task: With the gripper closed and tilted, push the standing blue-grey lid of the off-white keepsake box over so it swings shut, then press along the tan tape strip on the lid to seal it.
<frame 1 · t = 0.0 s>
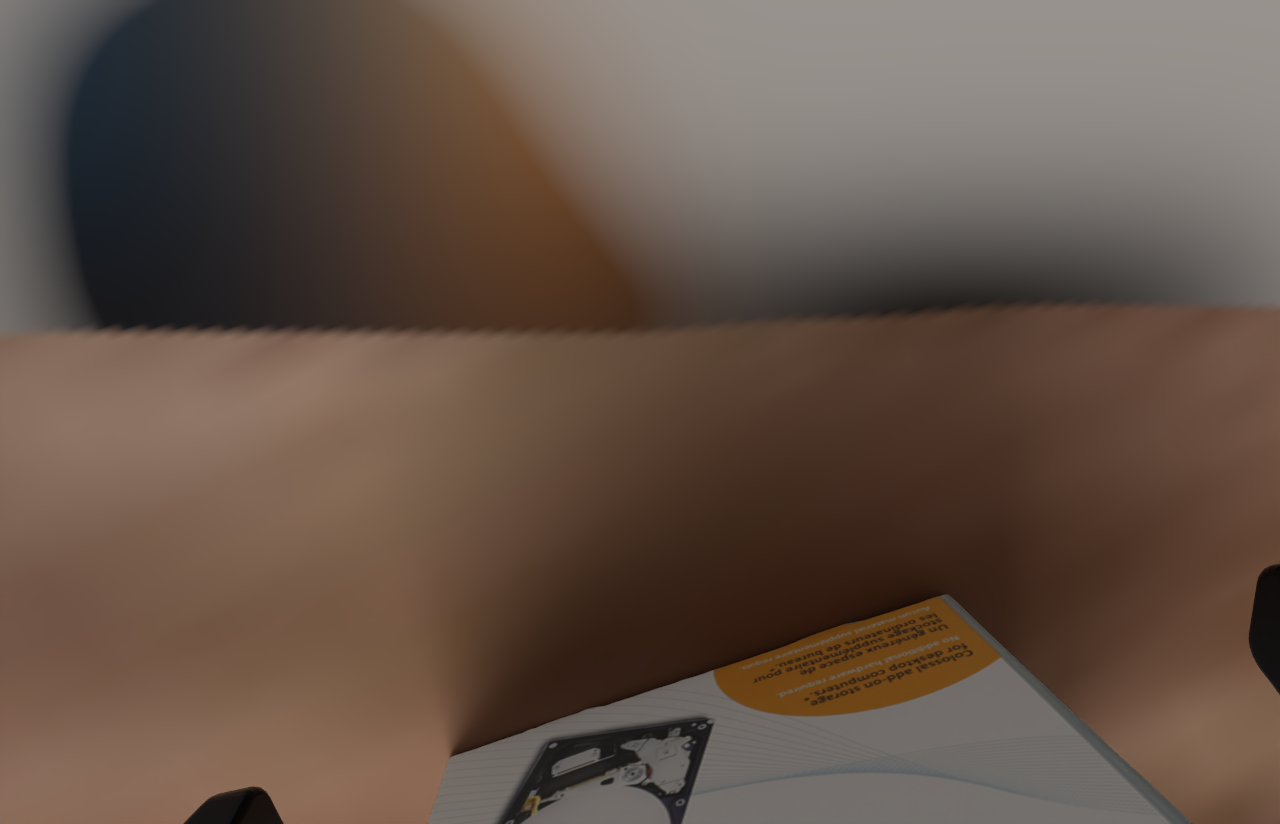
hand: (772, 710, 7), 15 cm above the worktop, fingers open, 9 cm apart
hard drive box: (729, 775, 25), on the worktop
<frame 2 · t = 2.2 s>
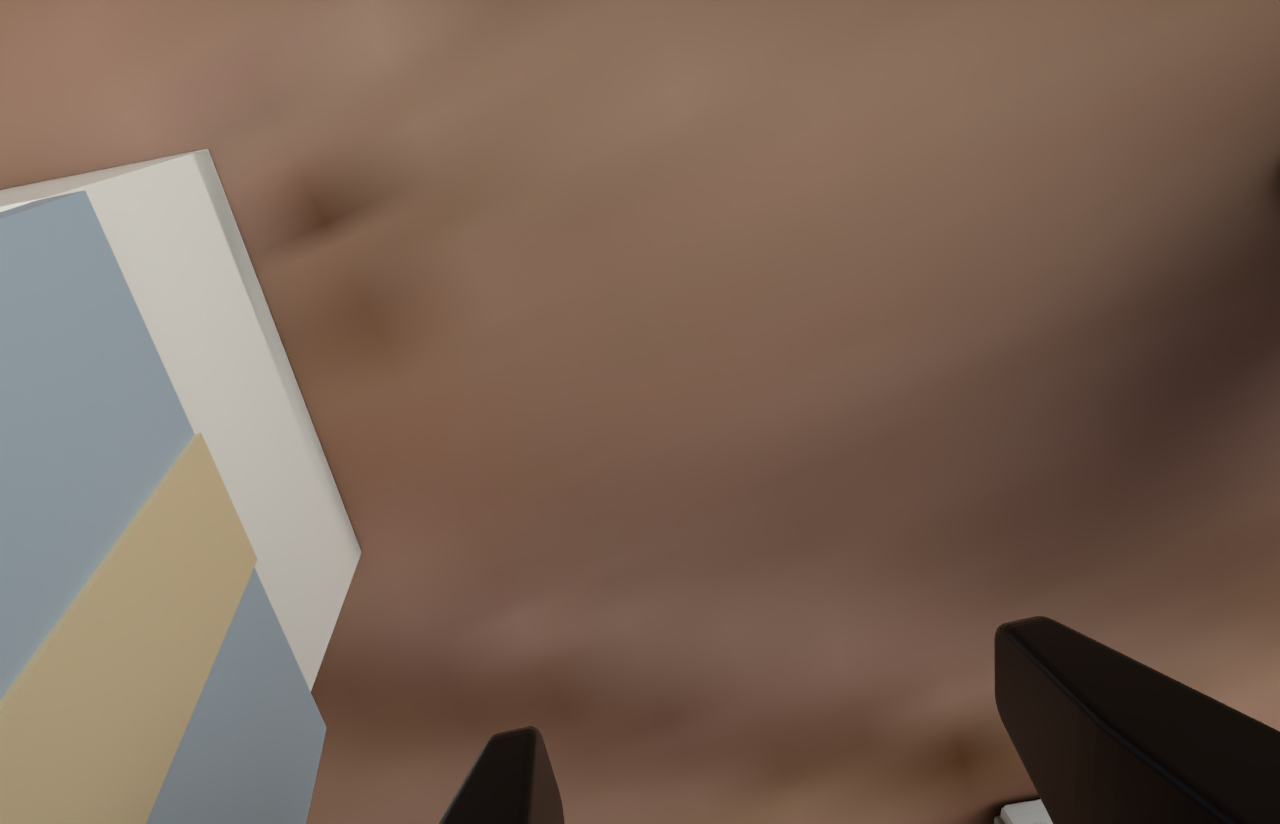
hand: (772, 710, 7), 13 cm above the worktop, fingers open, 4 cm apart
keepsake box: (119, 407, 19), on the worktop
lid: (113, 665, 10), point 10 cm above the worktop, hinge at 95.0°
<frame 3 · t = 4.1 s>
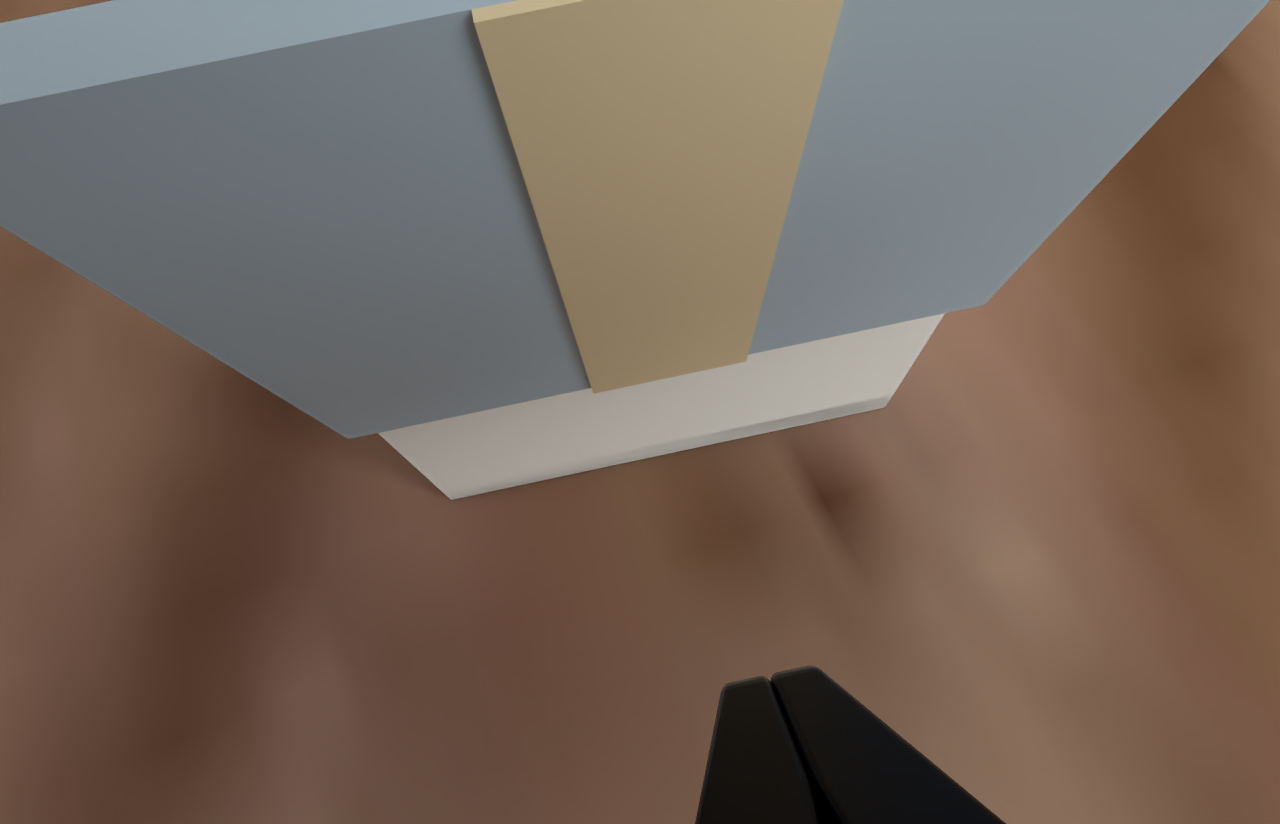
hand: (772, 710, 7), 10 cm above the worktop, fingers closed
keepsake box: (633, 298, 20), on the worktop
lid: (662, 236, 9), point 10 cm above the worktop, hinge at 95.0°
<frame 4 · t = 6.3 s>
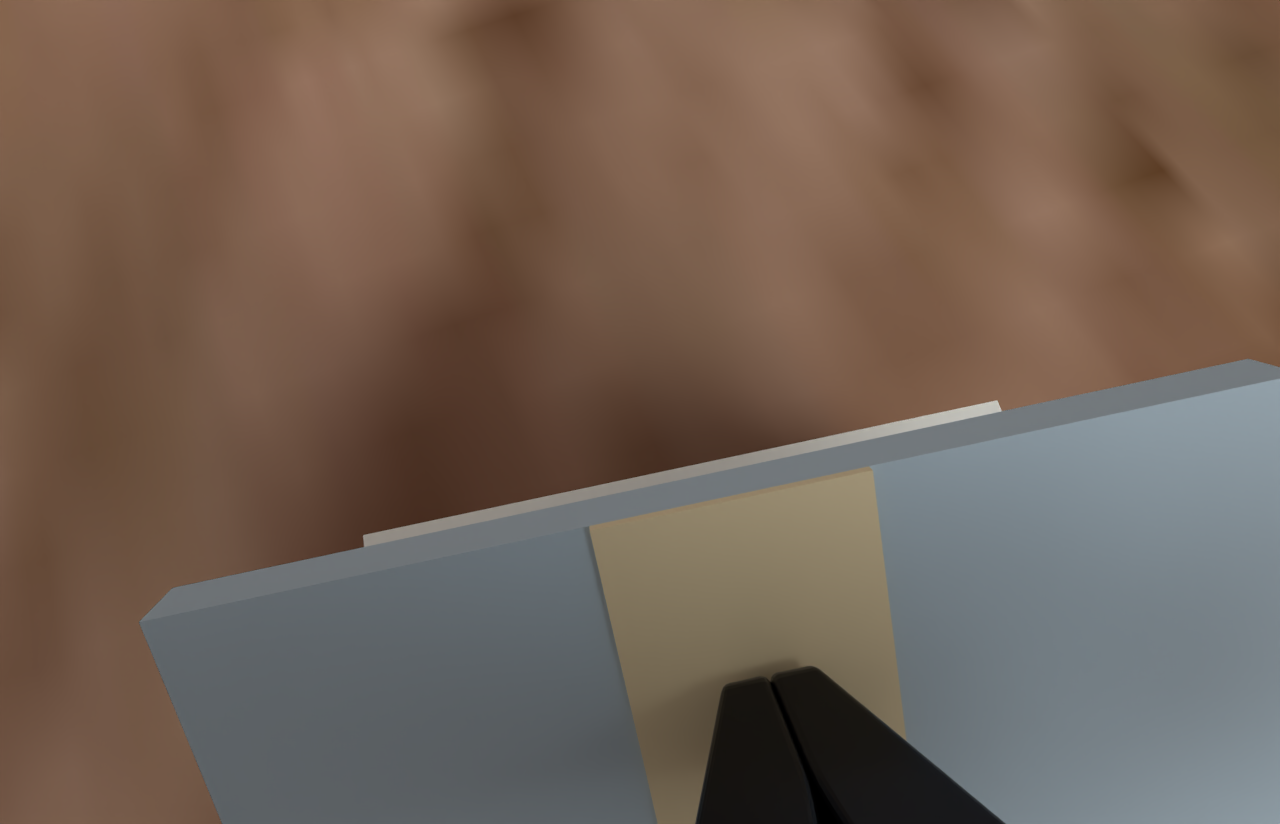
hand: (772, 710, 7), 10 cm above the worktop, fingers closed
keepsake box: (727, 737, 17), on the worktop
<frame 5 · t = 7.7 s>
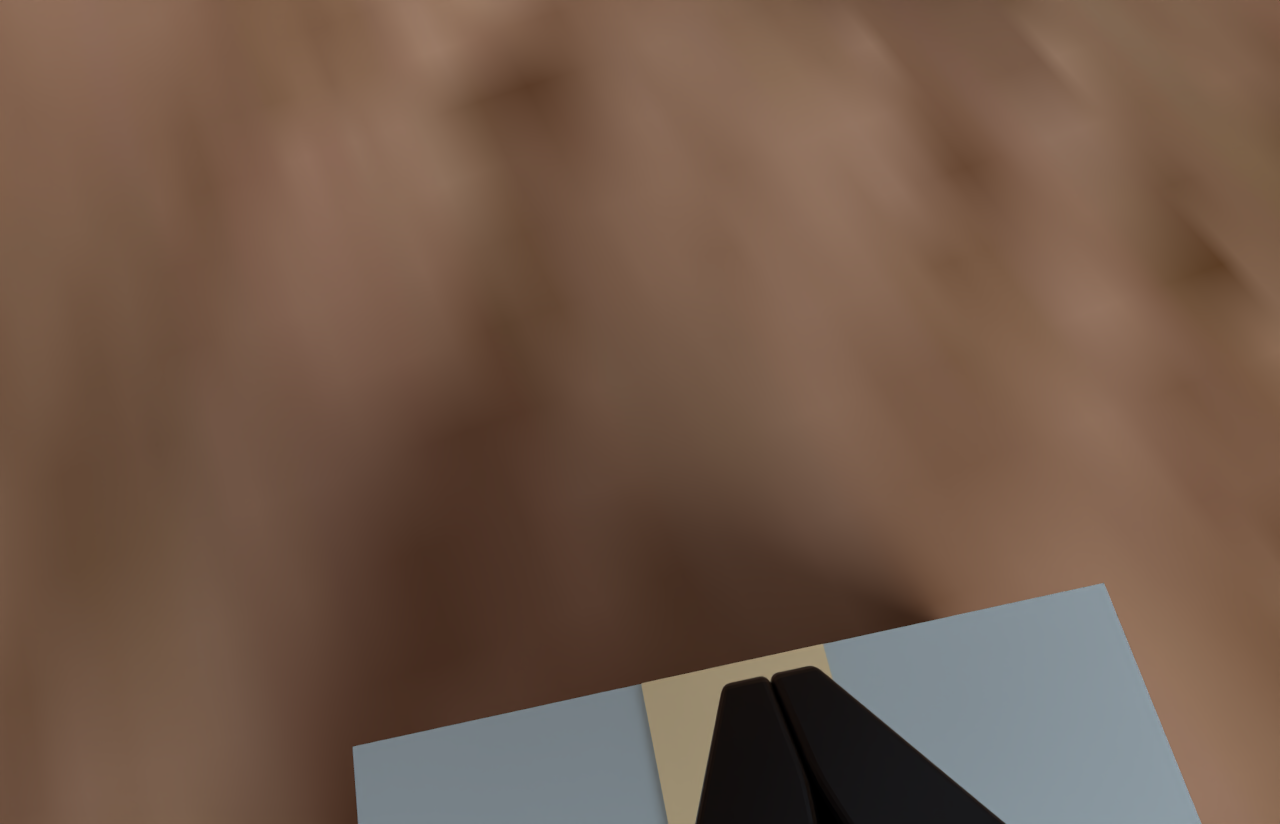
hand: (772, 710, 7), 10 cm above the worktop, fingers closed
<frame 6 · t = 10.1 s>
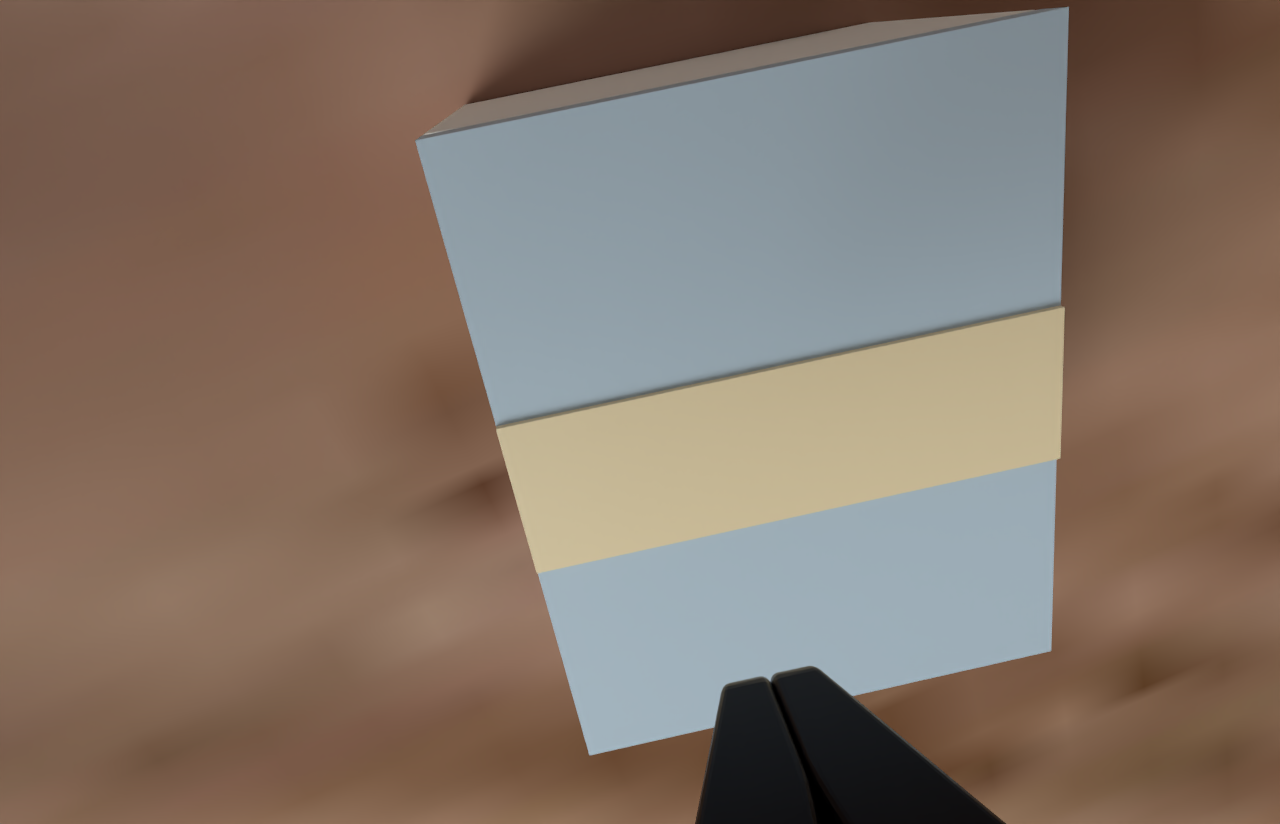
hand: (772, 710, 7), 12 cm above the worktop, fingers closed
keepsake box: (706, 308, 18), on the worktop
lid: (785, 434, 12), point 7 cm above the worktop, hinge at -0.4°
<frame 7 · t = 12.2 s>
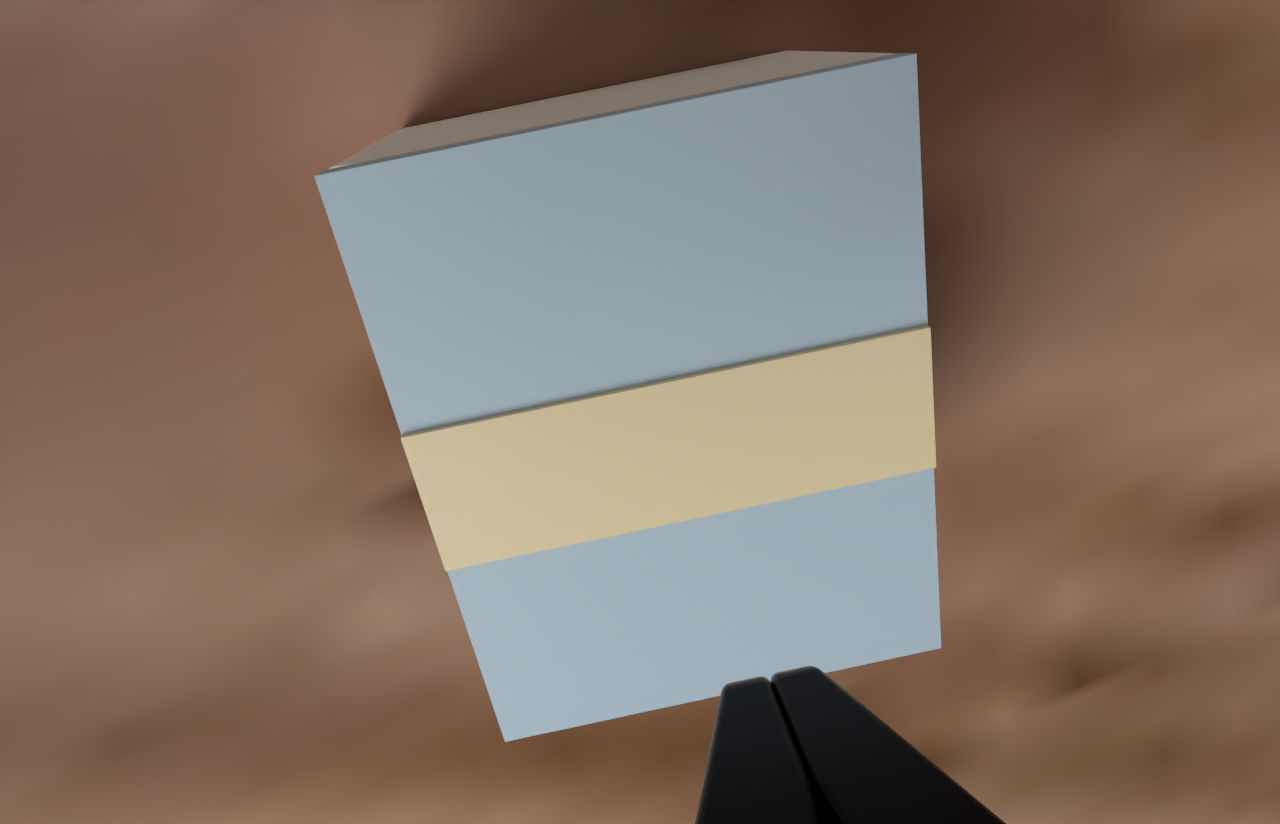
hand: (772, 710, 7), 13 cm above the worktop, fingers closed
keepsake box: (638, 319, 19), on the worktop
lid: (676, 443, 13), point 7 cm above the worktop, hinge at -0.4°
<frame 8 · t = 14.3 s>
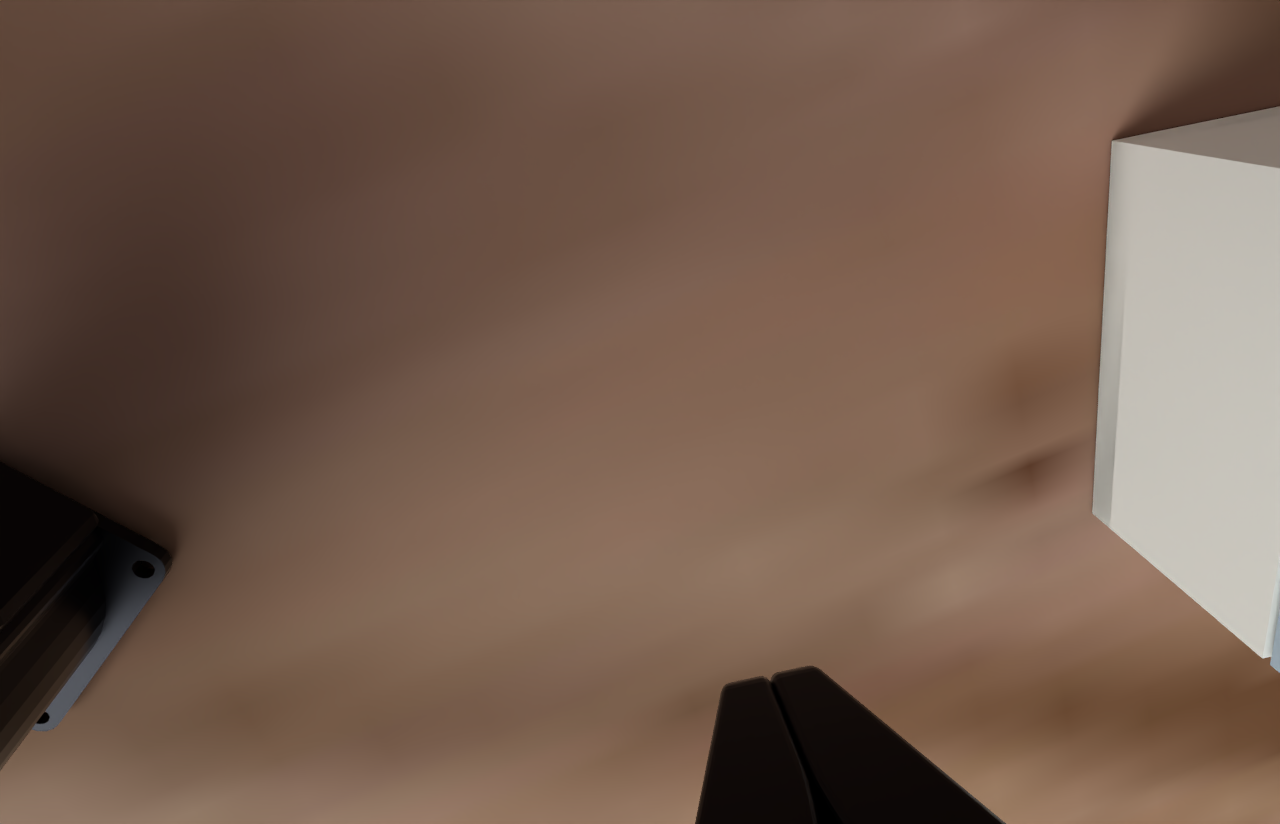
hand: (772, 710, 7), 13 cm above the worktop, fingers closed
keepsake box: (1254, 312, 21), on the worktop
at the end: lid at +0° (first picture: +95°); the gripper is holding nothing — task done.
